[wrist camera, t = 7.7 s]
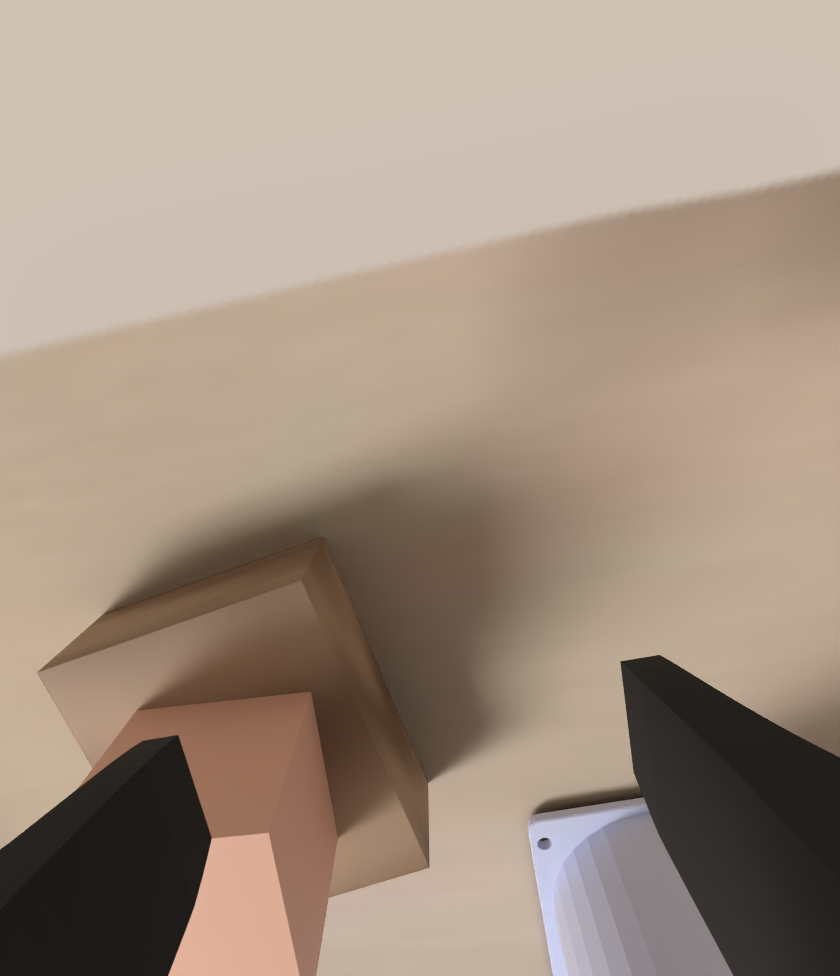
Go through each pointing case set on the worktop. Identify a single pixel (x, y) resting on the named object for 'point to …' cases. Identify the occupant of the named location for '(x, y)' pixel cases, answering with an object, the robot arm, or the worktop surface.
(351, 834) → the walnut block
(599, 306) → the worktop surface
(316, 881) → the terracotta cube
